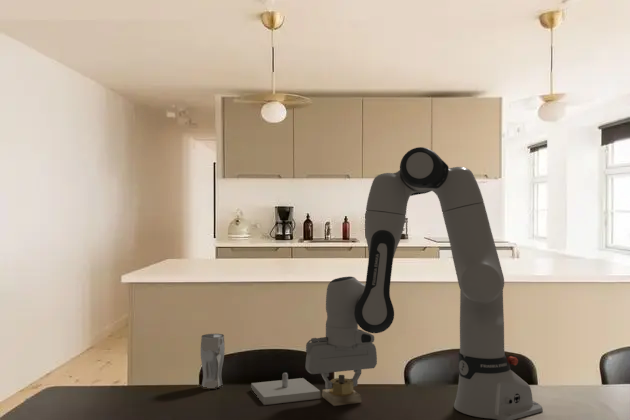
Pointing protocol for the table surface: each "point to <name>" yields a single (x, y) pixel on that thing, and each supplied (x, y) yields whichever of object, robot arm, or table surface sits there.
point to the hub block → (285, 390)
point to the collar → (342, 387)
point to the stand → (341, 400)
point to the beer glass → (212, 359)
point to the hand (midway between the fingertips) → (341, 387)
